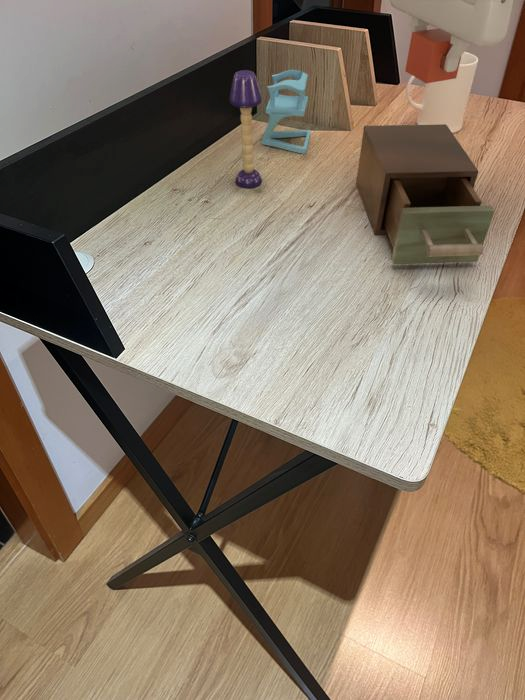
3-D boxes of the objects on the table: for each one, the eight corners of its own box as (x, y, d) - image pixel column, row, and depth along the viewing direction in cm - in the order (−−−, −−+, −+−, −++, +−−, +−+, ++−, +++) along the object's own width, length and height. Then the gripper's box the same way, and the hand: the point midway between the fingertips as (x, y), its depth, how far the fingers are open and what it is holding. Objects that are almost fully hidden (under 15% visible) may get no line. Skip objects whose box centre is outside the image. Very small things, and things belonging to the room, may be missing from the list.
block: (404, 71, 80) (411, 31, 76) (434, 66, 81) (442, 27, 78) (426, 83, 76) (434, 43, 73) (456, 78, 78) (465, 38, 74)
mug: (402, 132, 106) (415, 64, 97) (396, 113, 112) (408, 47, 103) (466, 134, 106) (484, 66, 97) (457, 115, 112) (473, 49, 103)
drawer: (490, 284, 73) (509, 232, 67) (402, 287, 72) (414, 235, 66) (447, 208, 86) (460, 159, 80) (372, 210, 85) (380, 161, 79)
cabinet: (460, 232, 83) (478, 170, 76) (374, 235, 82) (385, 173, 75) (432, 182, 93) (446, 124, 86) (355, 184, 92) (363, 125, 85)
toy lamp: (232, 188, 91) (229, 79, 79) (231, 174, 94) (228, 67, 82) (262, 188, 91) (264, 78, 79) (260, 173, 94) (261, 66, 82)
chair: (265, 131, 106) (267, 62, 97) (310, 135, 105) (315, 66, 96) (259, 150, 100) (259, 79, 92) (306, 154, 99) (311, 82, 91)
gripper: (542, -46, 62) (503, 85, 72) (430, -77, 75) (409, 37, 85) (497, -42, 60) (463, 93, 70) (389, -75, 73) (373, 42, 83)
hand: (433, 62), depth 78 cm, fingers closed on block, 5 cm apart
